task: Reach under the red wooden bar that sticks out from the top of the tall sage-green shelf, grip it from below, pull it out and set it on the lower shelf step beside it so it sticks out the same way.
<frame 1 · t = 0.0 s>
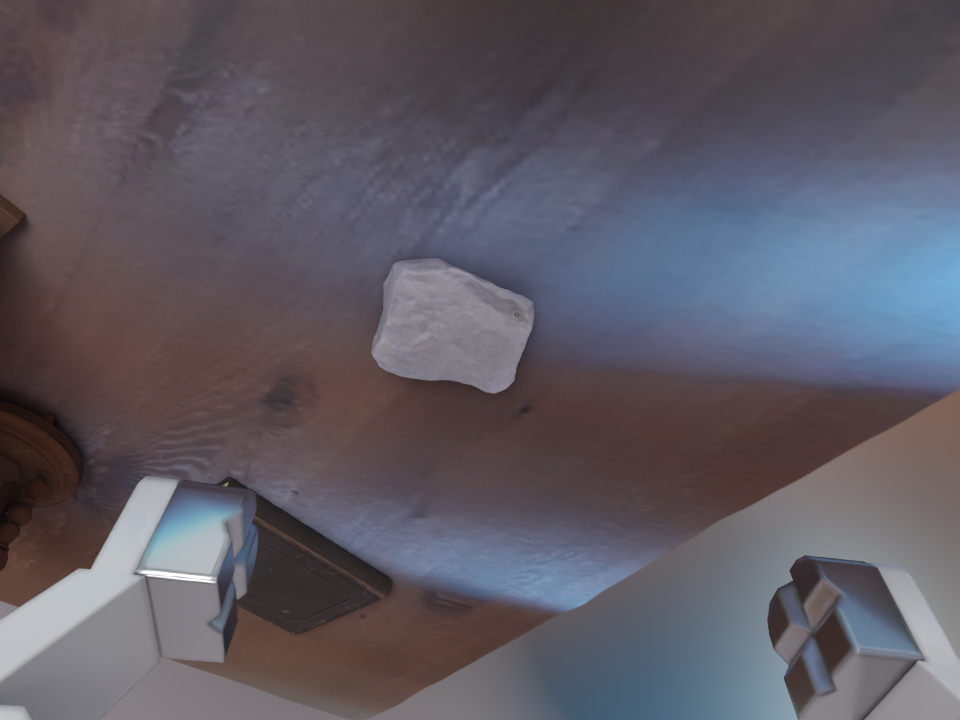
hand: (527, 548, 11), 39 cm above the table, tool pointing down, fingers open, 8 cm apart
stone block: (456, 307, 57), on the table
scroll: (10, 437, 69), on the table
hardcover book: (270, 553, 81), on the table
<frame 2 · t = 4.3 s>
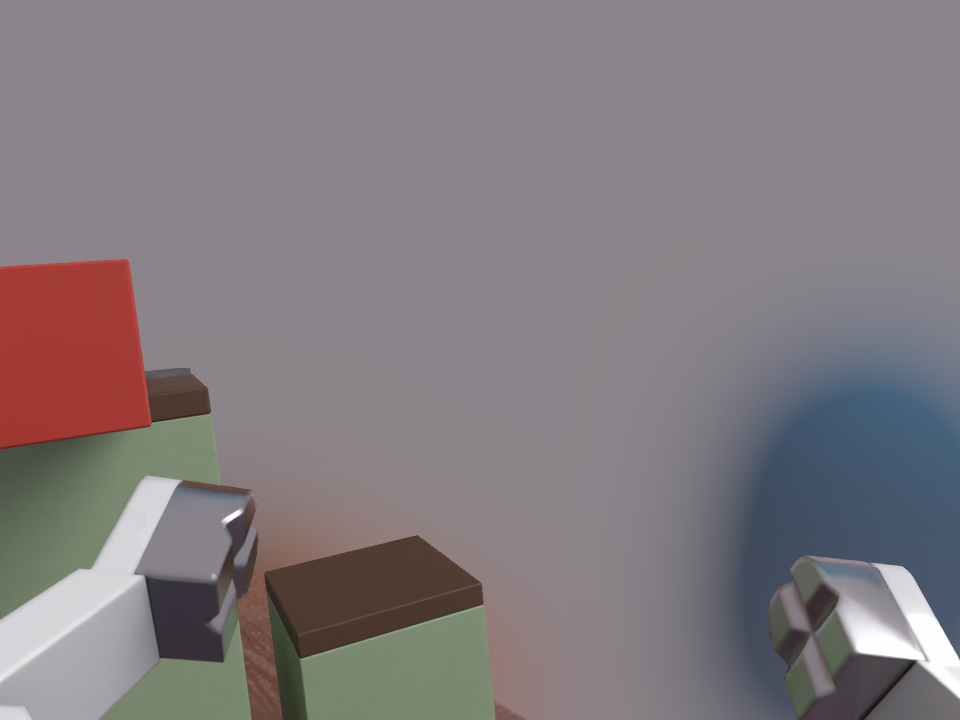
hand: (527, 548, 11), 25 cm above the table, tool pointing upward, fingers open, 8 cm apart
red bar: (88, 395, 27), point 26 cm above the table, touching step shelf
candle holder: (194, 708, 54), on the table
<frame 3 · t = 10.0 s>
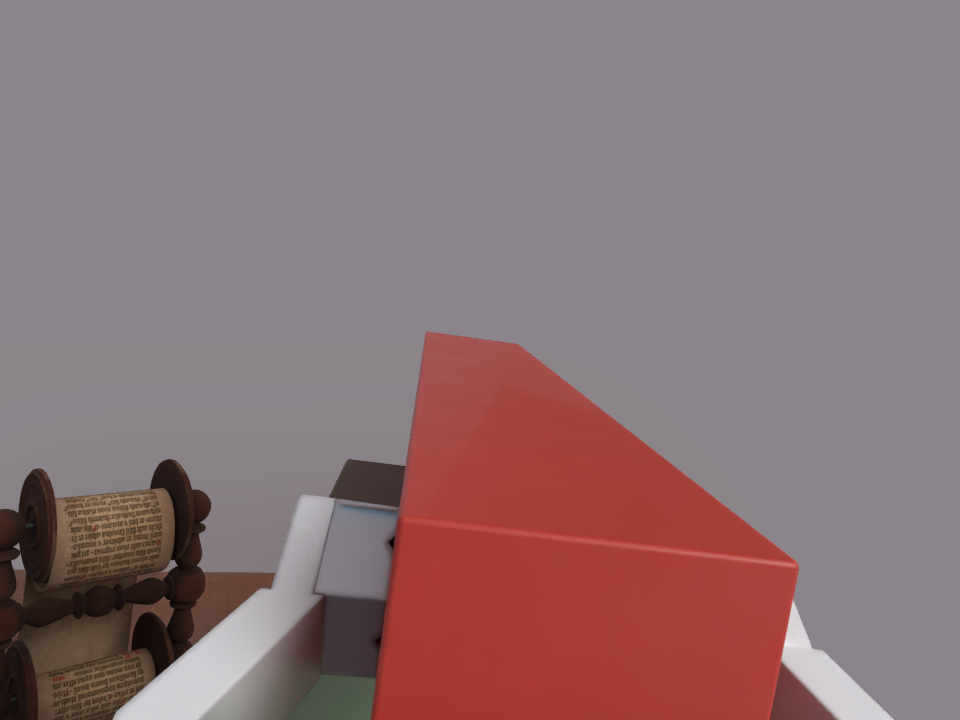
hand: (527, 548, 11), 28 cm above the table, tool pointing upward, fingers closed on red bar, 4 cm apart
red bar: (475, 523, 19), point 26 cm above the table, touching gripper, step shelf
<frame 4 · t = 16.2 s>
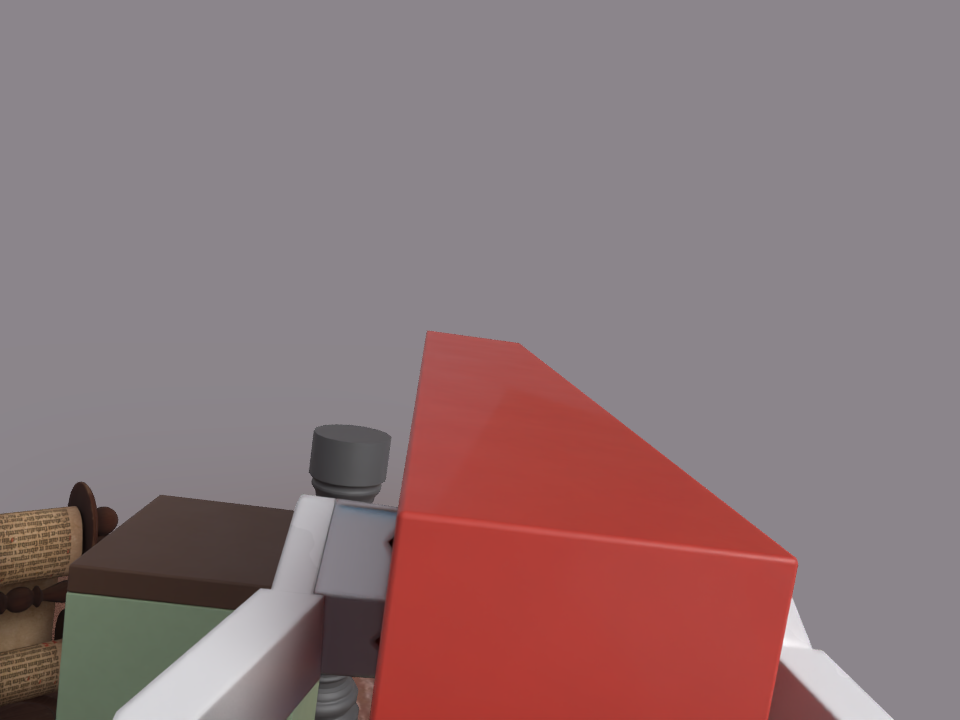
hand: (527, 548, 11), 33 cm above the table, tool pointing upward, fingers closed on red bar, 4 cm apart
red bar: (476, 521, 19), point 31 cm above the table, touching gripper
when the fingers open (18 cm above the table, at t = 22.3 s): red bar stays where it is, resting on step shelf.
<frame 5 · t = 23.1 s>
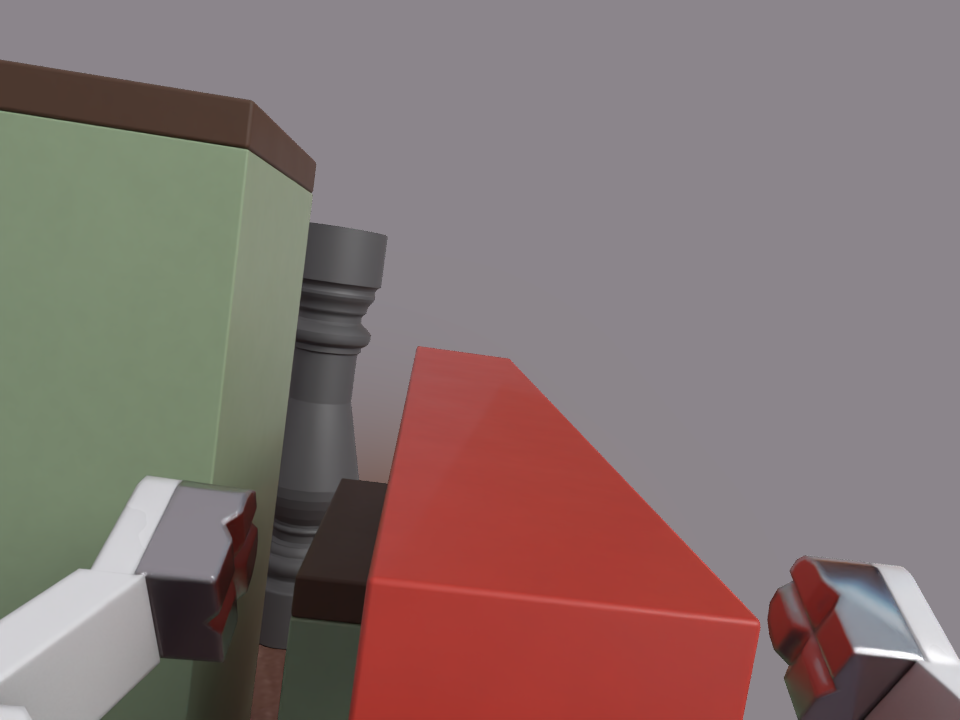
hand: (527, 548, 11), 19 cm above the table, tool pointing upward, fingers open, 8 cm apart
red bar: (462, 544, 19), point 16 cm above the table, touching step shelf
candle holder: (290, 627, 46), on the table
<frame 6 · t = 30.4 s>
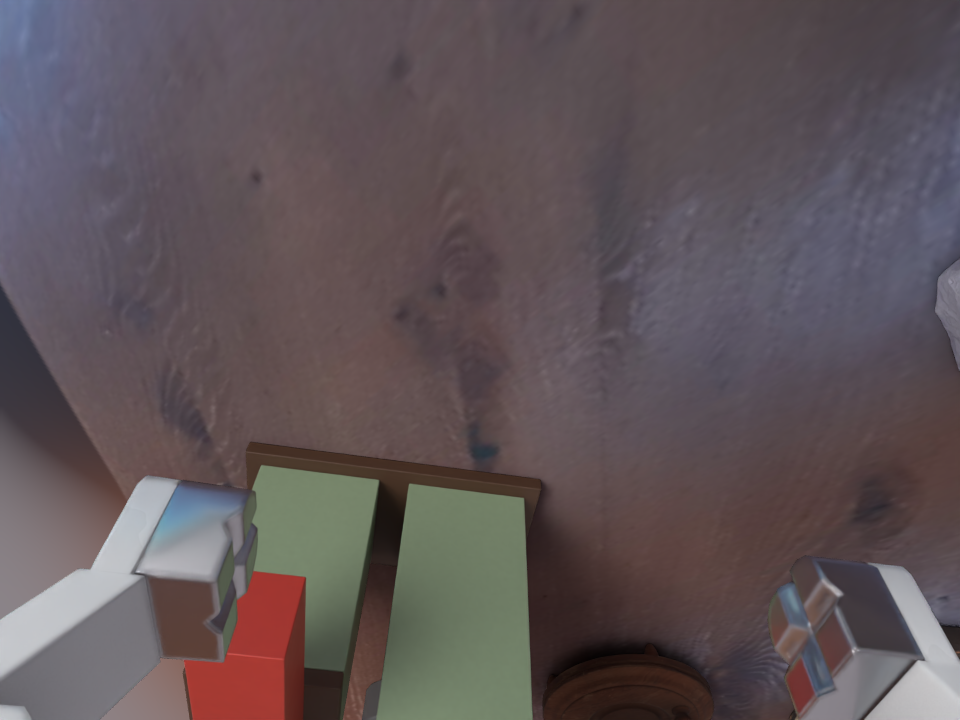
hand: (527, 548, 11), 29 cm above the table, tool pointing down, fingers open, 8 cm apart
step shelf: (391, 510, 53), on the table
red bar: (265, 713, 39), point 16 cm above the table, touching step shelf
candle holder: (399, 694, 67), on the table
scroll: (623, 683, 66), on the table
hardcover book: (947, 677, 64), on the table
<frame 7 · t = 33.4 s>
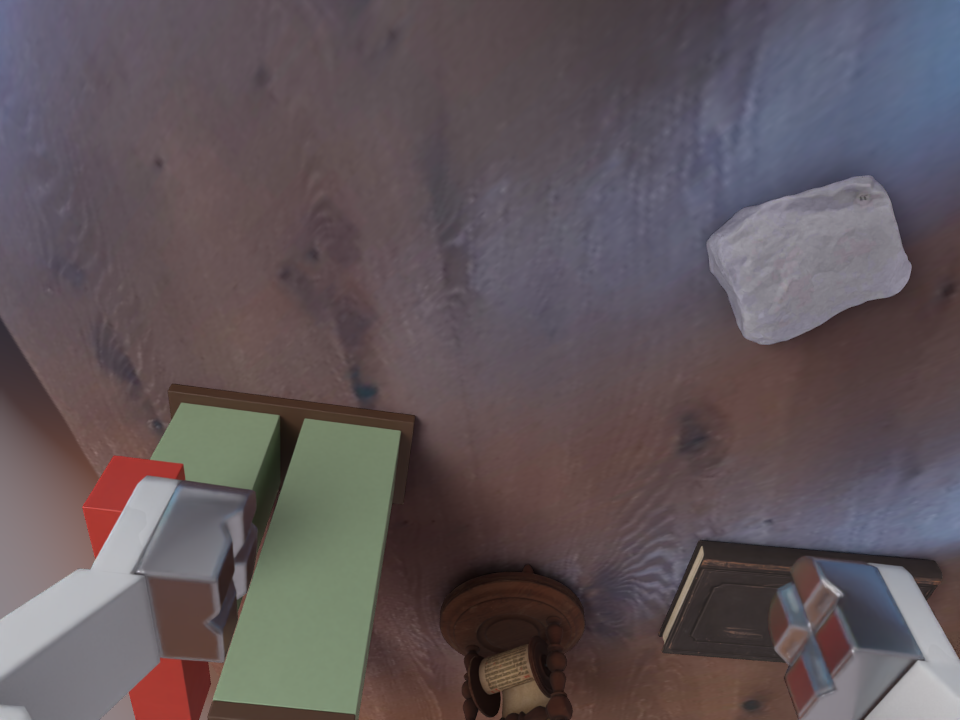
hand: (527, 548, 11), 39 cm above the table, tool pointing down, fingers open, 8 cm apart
stone block: (795, 240, 51), on the table
step shelf: (294, 443, 63), on the table
red bar: (169, 585, 49), point 16 cm above the table, touching step shelf
scroll: (511, 603, 76), on the table
hardcover book: (787, 595, 74), on the table
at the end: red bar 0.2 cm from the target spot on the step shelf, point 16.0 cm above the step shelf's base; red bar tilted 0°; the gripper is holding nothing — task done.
